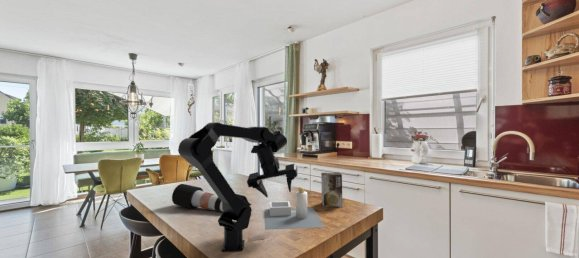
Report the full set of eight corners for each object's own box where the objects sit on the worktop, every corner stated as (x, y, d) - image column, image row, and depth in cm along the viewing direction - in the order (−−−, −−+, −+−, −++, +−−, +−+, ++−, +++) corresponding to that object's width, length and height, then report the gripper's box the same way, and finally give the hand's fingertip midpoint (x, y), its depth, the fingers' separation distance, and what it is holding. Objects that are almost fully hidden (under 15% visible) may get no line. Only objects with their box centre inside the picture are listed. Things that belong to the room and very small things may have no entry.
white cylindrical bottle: (308, 218, 103) (308, 188, 103) (296, 218, 102) (296, 189, 103) (306, 214, 108) (306, 186, 108) (295, 215, 107) (295, 186, 107)
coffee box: (339, 204, 126) (339, 172, 126) (342, 208, 120) (342, 174, 120) (321, 205, 126) (321, 172, 126) (323, 209, 119) (323, 174, 119)
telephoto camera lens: (236, 225, 111) (232, 208, 107) (175, 209, 123) (169, 193, 118) (247, 209, 120) (244, 192, 115) (189, 195, 131) (184, 179, 126)
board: (325, 230, 94) (325, 217, 94) (265, 232, 92) (265, 219, 92) (312, 210, 118) (312, 199, 118) (264, 211, 116) (264, 201, 116)
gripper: (292, 144, 99) (301, 178, 104) (246, 155, 101) (258, 187, 106) (291, 156, 89) (302, 193, 94) (240, 168, 91) (254, 204, 96)
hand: (278, 194), depth 98 cm, fingers open, 9 cm apart
